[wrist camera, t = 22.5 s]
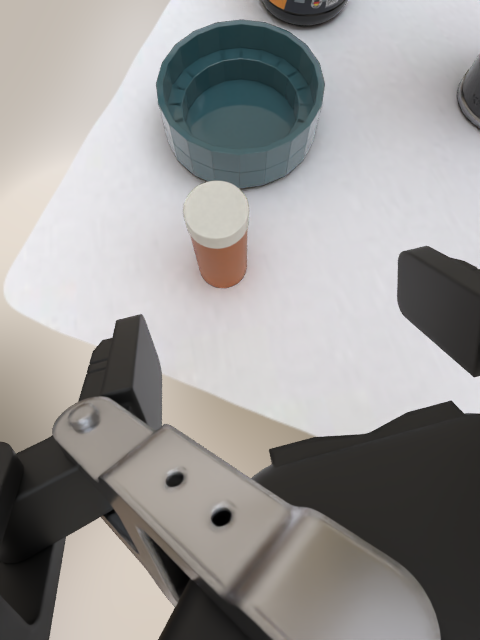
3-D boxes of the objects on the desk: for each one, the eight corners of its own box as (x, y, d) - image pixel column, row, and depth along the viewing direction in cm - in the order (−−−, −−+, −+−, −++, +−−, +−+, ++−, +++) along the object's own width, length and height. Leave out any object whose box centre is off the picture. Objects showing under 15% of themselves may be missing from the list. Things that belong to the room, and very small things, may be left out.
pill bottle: (223, 234, 38) (217, 168, 28) (257, 266, 37) (262, 209, 27) (188, 266, 37) (169, 208, 27) (222, 299, 36) (214, 251, 27)
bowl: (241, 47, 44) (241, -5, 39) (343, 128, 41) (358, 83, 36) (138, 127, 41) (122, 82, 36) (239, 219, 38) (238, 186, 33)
